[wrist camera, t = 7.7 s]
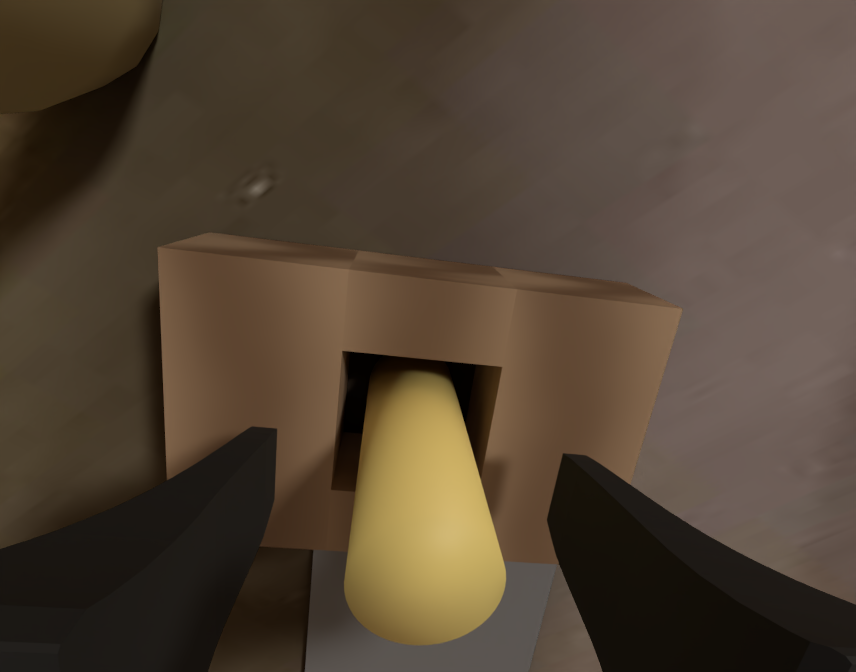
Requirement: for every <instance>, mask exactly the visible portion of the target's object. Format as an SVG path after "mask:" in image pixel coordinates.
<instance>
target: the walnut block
mask: <svg viewBox="0 0 856 672" xmlns="http://www.w3.org/2000/svg"><path fill="white" fill-rule="evenodd" d="M158 269H159V293H160V318H161V343H162V368H163V393H164V418H165V442H166V467H167V480H169V479H170V478H172V477H174V476H175V475H177V474H179V473H181V472H182V471H184V470H186V469H187V468H189V467H191V466H192V465H194V464H196V463H197V462H199V461H200V460H202V459H203V458H205V457H206V456H208V455H209V454H211V453H213V452H214V451H216V450H217V449H219V448H220V447H222V446H223V445H225V444H226V443H227V442H229V441H230V440H232V439H233V438H235V437H236V436H238V435H239V434H241V433H242V432H244V431H245V430H247V429H248V428H250V427H251V426H255V427H266V428H277V450H276V475H275V500H274V503H273V507H272V510H271V514H270V517H269V521H268V524H267V527H266V530H265V534H264V537H263V539H262V542H261V544H260V546H261V547H277V548H294V549H310V550H327V551H343V552H348V547H349V539H350V531H351V523H352V515H353V507H354V499H355V491H356V483H357V475H358V467H359V459H360V451H361V443H362V435H363V434H360V433H348V432H343V430H344V419H345V407H346V395H347V384H348V372H349V361H350V352H360V353H370V354H380V355H390V356H400V357H409V358H419V359H429V360H439V361H449V362H459V363H469V364H476V367H475V373H474V378H473V384H472V390H471V396H470V402H469V407H468V413H467V419H466V425H465V426H466V430H467V434H468V437H469V441H470V444H471V448H472V451H473V455H474V458H475V462H476V465H477V469H478V472H479V476H480V479H481V483H482V487H483V490H484V494H485V497H486V501H487V504H488V508H489V511H490V515H491V518H492V522H493V525H494V529H495V533H496V536H497V540H498V543H499V547H500V550H501V554H502V557H503V561H508V562H524V563H541V564H557V565H559V562H558V559H557V557H556V554H555V550H554V547H553V543H552V539H551V535H550V531H549V527H548V523H547V516H548V512H549V508H550V504H551V500H552V496H553V492H554V488H555V483H556V479H557V475H558V471H559V467H560V463H561V459H562V455H563V453H567V454H578V455H586V456H588V457H590V458H592V459H593V460H595V461H597V462H598V463H600V464H601V465H603V466H604V467H606V468H607V469H609V470H610V471H611V472H613V473H614V474H616V475H617V476H619V477H620V478H621V479H623V480H624V481H626V482H627V483H628V484H630V483H631V480H632V477H633V473H634V470H635V467H636V464H637V460H638V457H639V454H640V450H641V447H642V444H643V440H644V437H645V434H646V430H647V427H648V424H649V420H650V417H651V414H652V410H653V407H654V404H655V400H656V397H657V394H658V390H659V387H660V384H661V380H662V377H663V374H664V370H665V367H666V364H667V361H668V357H669V354H670V351H671V347H672V344H673V341H674V337H675V334H676V331H677V327H678V324H679V321H680V317H681V314H682V311H683V309H682V308H680V307H678V306H676V305H673V304H671V303H669V302H667V301H665V300H663V299H660V298H658V297H656V296H654V295H652V294H649V293H647V292H645V291H643V290H641V289H638V288H636V287H634V286H632V285H630V284H627V283H623V282H614V281H606V280H598V279H590V278H581V277H573V276H565V275H557V274H548V273H540V272H532V271H524V270H516V269H507V268H499V267H491V266H483V265H474V264H466V263H458V262H450V261H441V260H433V259H425V258H417V257H408V256H400V255H392V254H384V253H376V252H367V251H359V250H351V249H343V248H334V247H326V246H318V245H310V244H301V243H293V242H285V241H277V240H269V239H260V238H252V237H244V236H236V235H227V234H219V233H211V232H209V233H206V234H202V235H199V236H195V237H192V238H188V239H185V240H181V241H178V242H174V243H171V244H167V245H164V246H160V247H158Z"/></svg>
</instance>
